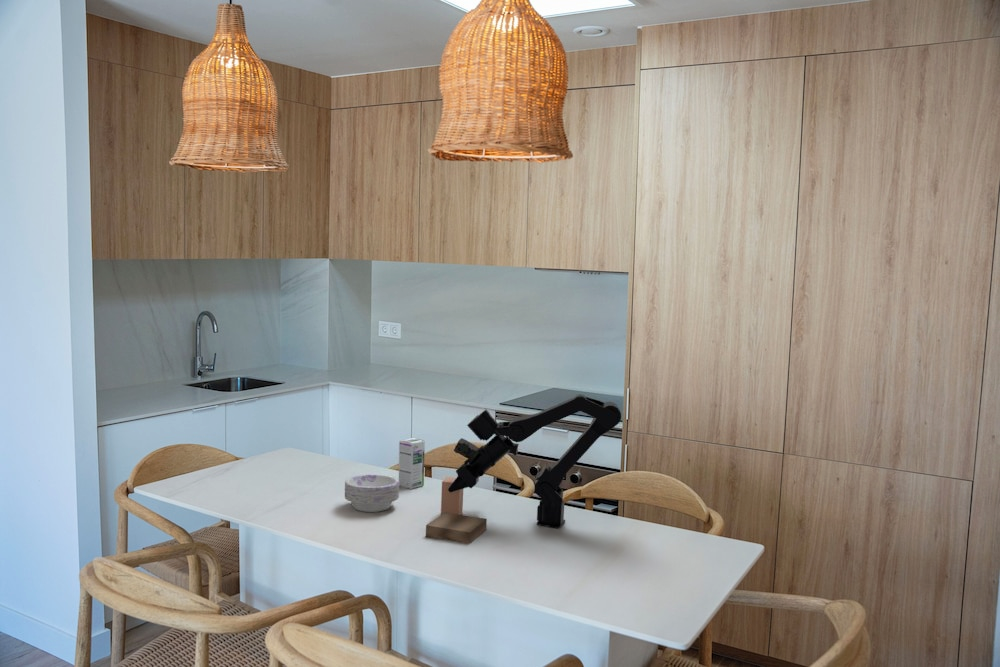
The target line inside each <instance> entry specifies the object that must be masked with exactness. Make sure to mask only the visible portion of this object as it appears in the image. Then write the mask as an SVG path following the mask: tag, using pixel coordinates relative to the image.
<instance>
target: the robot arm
mask: <svg viewBox="0 0 1000 667" xmlns="http://www.w3.org/2000/svg"><path fill="white" fill-rule="evenodd" d="M620 409H621V408H620V406H619V405H618V404H617V403H615V402H613V401H606V402H605V401H601V400H599V399H595V398H592V397H588V396H585V395H584V394H576V395H575V396H573V397H571V398H570V399H567V400H564V401H563V402H562V401H561V402H560V403H558V404H556V405H553V406H550V407H549V408H546V409H544V410H542V411H540V412H538V413H537V412H536V413H534V414H532V413H531V414H526V415H522V416H518V417H514V418H513V419H511V420H510V421H499V422H498V421H496V419H495V418H494V417H493V416H492V415H491V413H490V412H489V410H487V409H484V410H483V411H482V412H480V413H479V414H477V415H476V416H475V417H474V418H473V419H471V421H470V422H469V423H467V425H466V426H467V427H468V428H469V429H470V430H471V432H473V433H474V435H475V436H476V437H477V438H478V439H479V440H480V441H486V442H487V441H488V440H489V439H490V438H491V439H490V440H489V441H488V442H487V443H486V444H484V445H481V446H480V447H478V446H476V445H475V444H474V443H472V442H470V441H468V440H467V439H465V438H462V437H461V438H460V439H459V440H458V441H457V443H456V445H455V447H454V449H453V453H456V454H459V455H461V456H462V457H463V458H466V460H465V461H464V463H463V464H461V466H459V467H458V468H457V469H456V470H455V472H456V475H457V476H456V477H455V478H456V479H455V481H454V482H453V483H452V485H451V486H450V487H449V489H448V491H449V492H454V491H457V490H460V489H463V490H464V489H467V488H469V489H472V488H474V487H475V486H476V485H477V484H478V483H479V478H481V477H483V476H484V475H485V474H486V473H487V472H488V471H489V470H491V468H493V467H494V466H495V465H496V464H497V463H498V462H499V461H500V460H501V459H503V457H504V456H506V455H507V454H508V453H510V452H511V453H512V455H513V456H517V454H518V452H519V445H520V444H519V443H521V442H523V441H524V440H527V438H529V437H530V436H532V435H533V434H535V433H536V432H537V431H539V430H540V429H542V428H544V427H546V426H549V425H551V424H553V423H556V422H558V421H560V420H563V419H565V418H568V417H570V416H571V415H575V414H576V413H579V412H581V413H584V414H587V415H588V416H590V417H593V418H592V420H591V422H590V424H589V425H588V427H587V428H586V429H585V430H584V431H583V432H582V433H581V434H580V435H579V437H578V438H577V439H576V440H575V441H574V442H573V443H572V444H571V446H570V447H569V448H568V449H566V451H565V452H564V453H563V455H562V456H561V457H560V458H558V460H556V462H554V464H551V465H549V464H548V463H545V464H544V466H543V468H542V469H541V470H540V471H538V472H537V473H536V477H535V482H534V492H535V494H536V496H538V497H539V498H540V500H539V503H538V504H539V505H538V506H537V508H536V509H537V510H536V512H537V513H536V521H537V522H536V525H537V526H544V527H549V528H557V529H559V528H561V527H562V526H563V524H565V522H566V519H564V518H565V517H564V516H565V500H564V490H563V489H562V488H561V486H560V485H561V484H562V482H563V480H564V479H565V477H566V475H567V473H569V471H570V470H571V469H572V468H573V467H574V466H575V465H576V463H577V462H578V461H579V460H580V459H581V458H582V457H583V456H584V454H585V453H587V451H588V450H589V449H590V448H591V447H592V446H593V445H594V444H595V443H596V442H597V440H598V439H599V438H600V437H601V436H603V435H605V434H606V433H609V432H610V431H611V430H612V429H613V428H615V427H617V425H619V423H620V422H621V419H622V413H621V410H620ZM494 435H495V436H494Z"/></svg>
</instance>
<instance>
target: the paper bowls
mask: <svg viewBox="0 0 1000 667" xmlns="http://www.w3.org/2000/svg"><path fill="white" fill-rule="evenodd" d="M399 498H400V486H399V478H396V477H394V476H390V475H385V474H361V475H355V476H354V475H353V476H351V477H349V478H347V479H345V482H344V499H345V500H346V501H348V502H350V503H351V505H352V507H353V508H354V509H355V510H357V511H360V512H366V513H377V512H378V513H379V512H383V511H386V510H387V509H389V508H390V507H391V505H392V504H393V503H394V502H395V501H397V500H398V499H399Z"/></svg>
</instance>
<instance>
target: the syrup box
mask: <svg viewBox="0 0 1000 667" xmlns="http://www.w3.org/2000/svg"><path fill="white" fill-rule="evenodd" d="M398 443H399V444H398V450H399V451H398V480H399V487H402V488H405V489H410V490H413V489H416V488H419V487H423V486H424V485H425V447H426V446H425V440H423V439H419V438H414V437H411V438H407V439H402V440H399V441H398Z"/></svg>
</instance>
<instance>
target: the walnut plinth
mask: <svg viewBox="0 0 1000 667" xmlns="http://www.w3.org/2000/svg"><path fill="white" fill-rule="evenodd" d="M487 522H488V519H487V518H483V517H478V516H471V515H465V514H462V515H460V514H453V513H447V512H445V513H443V514H442V515H441V514H440V515H438V516H437V517H436V518H434V519H433V520H432V521H430V522H428V523H427V524H426V525H425V538H426V537H427V538H433V539H439V540H444V541H449V542H456V543H462V544H468V545H470V544H471V543H472V542H473V541H474V540H476V539H477V538H478V537H480V536H481V535H482V534H483V533H484V532H486V531H487Z"/></svg>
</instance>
